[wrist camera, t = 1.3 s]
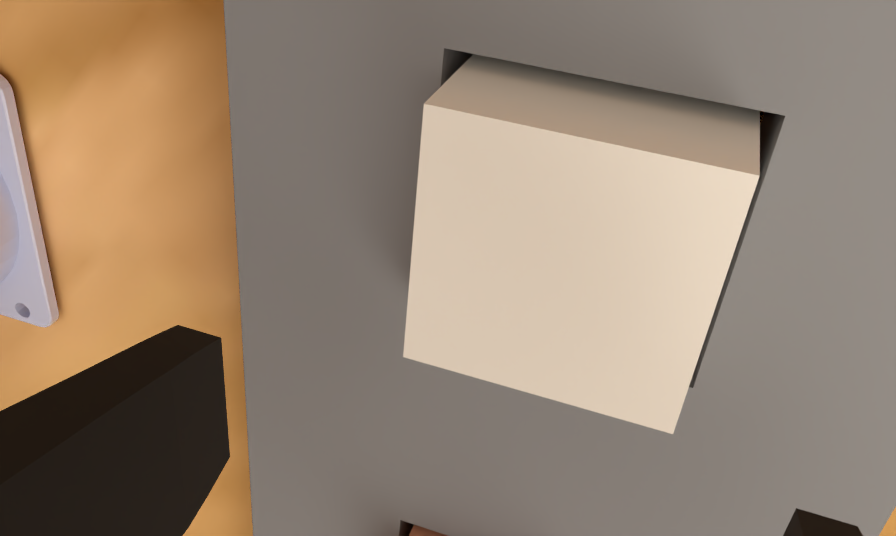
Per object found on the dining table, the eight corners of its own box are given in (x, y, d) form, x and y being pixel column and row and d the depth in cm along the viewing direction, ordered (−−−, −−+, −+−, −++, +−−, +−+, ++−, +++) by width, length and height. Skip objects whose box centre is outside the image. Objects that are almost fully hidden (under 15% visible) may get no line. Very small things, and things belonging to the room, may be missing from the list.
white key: (452, 275, 18) (403, 357, 15) (478, 48, 15) (423, 103, 13) (685, 336, 17) (673, 434, 14) (759, 104, 14) (759, 175, 11)
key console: (302, 586, 29) (260, 662, 26) (299, -204, 15) (212, -199, 13) (710, 733, 26) (705, 835, 23) (1131, -92, 12) (1222, -58, 10)
